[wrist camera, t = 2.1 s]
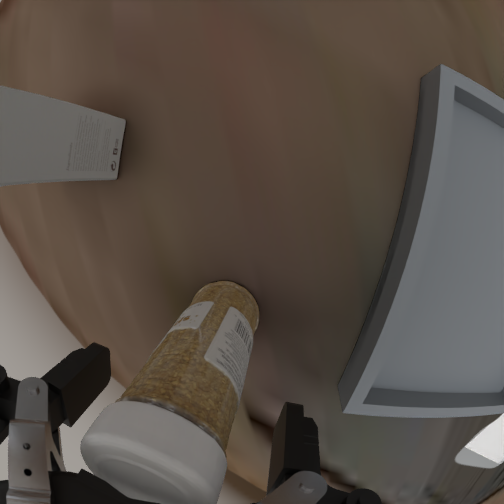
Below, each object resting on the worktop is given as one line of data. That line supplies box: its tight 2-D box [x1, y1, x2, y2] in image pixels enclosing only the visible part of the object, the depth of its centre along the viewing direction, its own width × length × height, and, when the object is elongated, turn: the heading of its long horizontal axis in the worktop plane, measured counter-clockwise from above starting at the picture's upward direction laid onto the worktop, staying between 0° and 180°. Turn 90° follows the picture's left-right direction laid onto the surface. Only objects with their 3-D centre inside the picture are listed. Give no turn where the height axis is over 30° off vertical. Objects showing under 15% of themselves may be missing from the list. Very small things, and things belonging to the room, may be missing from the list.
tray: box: [338, 64, 504, 418], centre depth 15 cm, size 22×18×3 cm
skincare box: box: [0, 86, 126, 186], centre depth 12 cm, size 6×4×12 cm
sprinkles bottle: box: [81, 281, 259, 504], centre depth 13 cm, size 5×5×13 cm
